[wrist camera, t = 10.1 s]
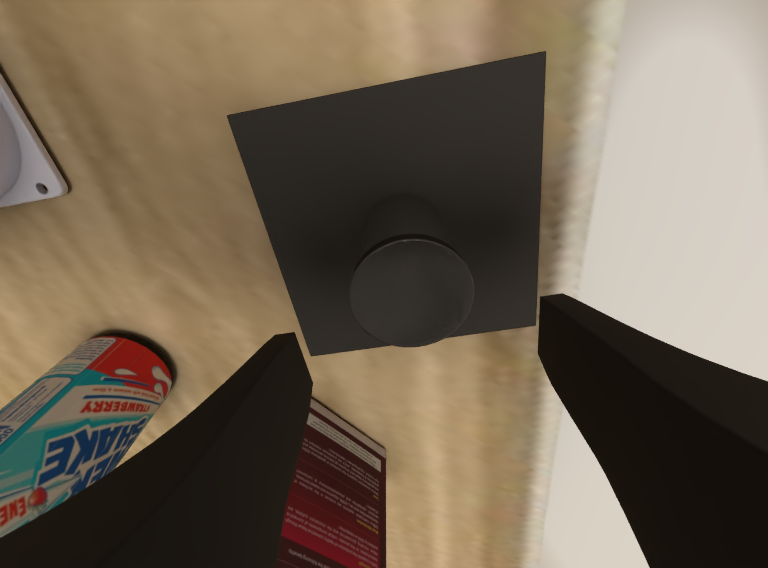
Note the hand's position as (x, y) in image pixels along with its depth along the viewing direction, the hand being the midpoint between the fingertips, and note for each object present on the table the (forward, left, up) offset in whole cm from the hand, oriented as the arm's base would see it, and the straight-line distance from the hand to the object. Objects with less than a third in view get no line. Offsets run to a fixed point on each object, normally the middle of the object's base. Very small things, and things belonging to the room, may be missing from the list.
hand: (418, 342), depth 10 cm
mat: (0, 0, -9) cm, 9 cm away
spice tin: (0, 0, -9) cm, 9 cm away
